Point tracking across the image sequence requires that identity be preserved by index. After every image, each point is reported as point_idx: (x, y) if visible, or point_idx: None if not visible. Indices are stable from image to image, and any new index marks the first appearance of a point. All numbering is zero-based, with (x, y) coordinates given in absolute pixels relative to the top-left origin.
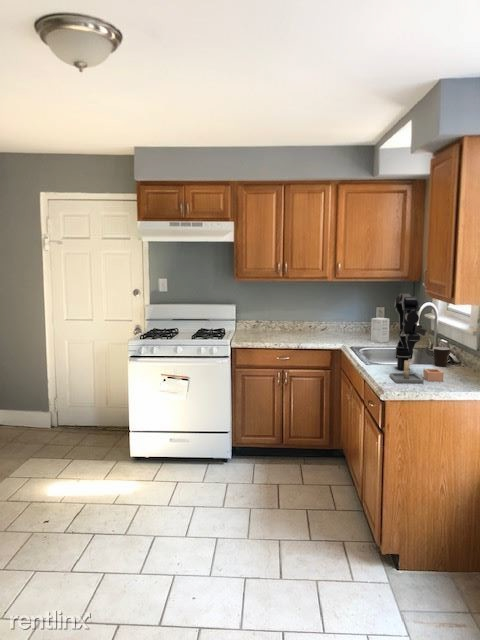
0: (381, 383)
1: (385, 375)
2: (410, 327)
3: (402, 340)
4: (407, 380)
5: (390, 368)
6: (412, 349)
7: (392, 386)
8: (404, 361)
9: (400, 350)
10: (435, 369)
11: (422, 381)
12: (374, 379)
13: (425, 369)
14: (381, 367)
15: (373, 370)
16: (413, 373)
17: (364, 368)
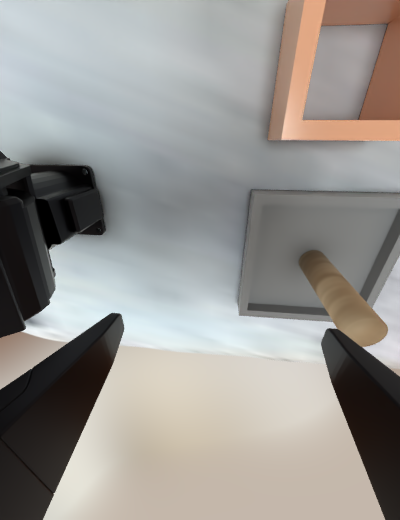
0: None
1: (213, 310)
2: None
3: (56, 472)
4: (381, 279)
5: (73, 255)
6: (383, 370)
7: (393, 335)
8: (357, 343)
9: (32, 299)
10: (324, 4)
11: None
12: (273, 356)
13: (305, 129)
14: (66, 285)
15: (131, 325)
16: (260, 208)
17: None
